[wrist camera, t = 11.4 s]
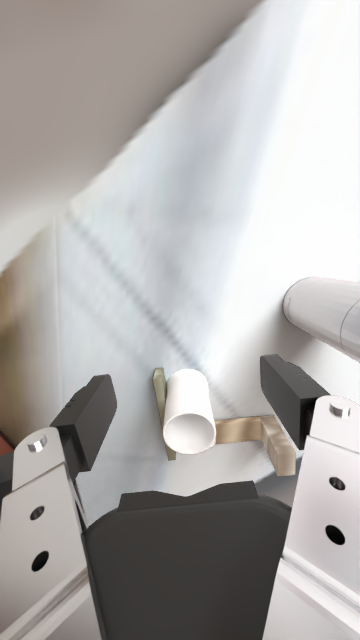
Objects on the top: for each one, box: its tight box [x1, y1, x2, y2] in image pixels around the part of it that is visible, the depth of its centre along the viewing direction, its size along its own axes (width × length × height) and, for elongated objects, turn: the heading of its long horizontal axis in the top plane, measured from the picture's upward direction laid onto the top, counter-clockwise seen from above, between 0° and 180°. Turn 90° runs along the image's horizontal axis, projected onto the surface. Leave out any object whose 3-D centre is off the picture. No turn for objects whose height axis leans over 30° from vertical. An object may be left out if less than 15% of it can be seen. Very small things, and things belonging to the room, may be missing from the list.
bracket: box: [153, 368, 296, 476], centre depth 39 cm, size 23×19×9 cm
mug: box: [163, 369, 216, 455], centre depth 37 cm, size 12×8×12 cm
